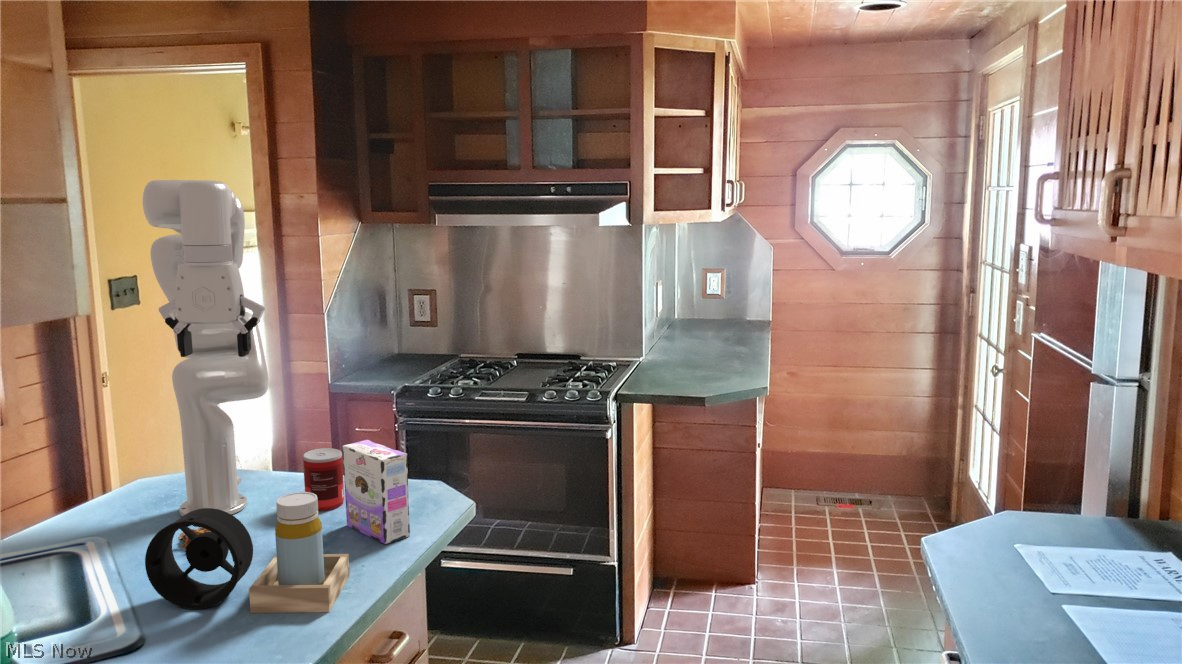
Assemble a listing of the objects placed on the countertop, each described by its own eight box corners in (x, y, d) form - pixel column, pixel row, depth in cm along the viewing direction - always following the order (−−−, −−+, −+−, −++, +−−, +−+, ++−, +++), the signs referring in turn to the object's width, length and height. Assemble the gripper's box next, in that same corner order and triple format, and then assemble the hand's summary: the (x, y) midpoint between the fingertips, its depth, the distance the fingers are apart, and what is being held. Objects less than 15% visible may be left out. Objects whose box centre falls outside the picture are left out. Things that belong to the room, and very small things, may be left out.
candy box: (411, 536, 154) (408, 452, 151) (384, 546, 149) (381, 460, 147) (371, 517, 163) (368, 437, 160) (345, 525, 159) (341, 444, 156)
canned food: (328, 494, 175) (326, 445, 173) (352, 503, 170) (350, 452, 168) (297, 505, 169) (294, 454, 167) (321, 514, 164) (318, 462, 162)
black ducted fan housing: (261, 497, 133) (234, 522, 124) (267, 580, 136) (241, 610, 126) (174, 497, 134) (140, 521, 124) (181, 580, 136) (148, 610, 126)
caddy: (277, 577, 137) (276, 554, 136) (349, 576, 137) (348, 553, 137) (250, 613, 125) (248, 588, 125) (329, 611, 126) (328, 587, 125)
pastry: (199, 530, 157) (197, 512, 157) (237, 544, 151) (235, 526, 150) (164, 542, 151) (162, 524, 151) (202, 557, 145) (200, 539, 145)
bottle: (332, 579, 134) (328, 492, 132) (310, 599, 127) (305, 508, 125) (294, 575, 135) (289, 489, 133) (269, 595, 129) (264, 505, 126)
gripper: (144, 257, 133) (153, 360, 136) (251, 257, 133) (258, 359, 136) (166, 254, 140) (174, 351, 143) (268, 254, 141) (274, 351, 144)
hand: (215, 355), depth 140 cm, fingers open, 9 cm apart
